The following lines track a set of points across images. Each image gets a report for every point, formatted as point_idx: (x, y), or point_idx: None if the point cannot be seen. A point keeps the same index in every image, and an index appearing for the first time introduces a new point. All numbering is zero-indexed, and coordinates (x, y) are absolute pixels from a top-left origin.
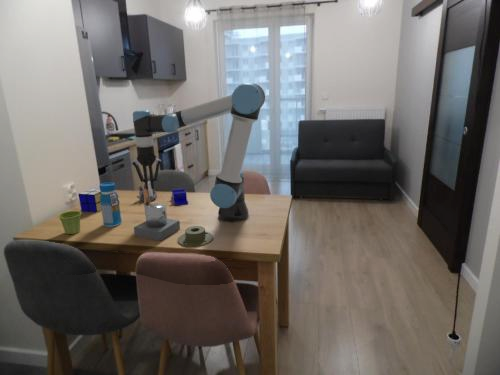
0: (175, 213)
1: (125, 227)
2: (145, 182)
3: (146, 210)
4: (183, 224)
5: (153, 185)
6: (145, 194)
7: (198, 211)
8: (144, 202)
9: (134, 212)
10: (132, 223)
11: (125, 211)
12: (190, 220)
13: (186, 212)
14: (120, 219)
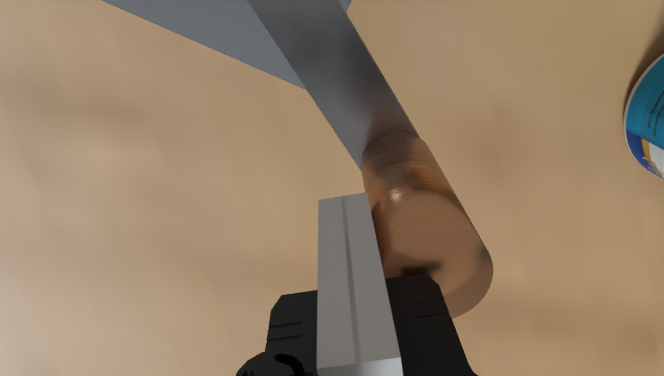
0: (218, 296)
1: (571, 18)
2: (458, 368)
3: None
4: (58, 61)
5: (269, 341)
6: (424, 190)
7: (48, 324)
8: (432, 155)
9: (546, 327)
10: (523, 109)
11: (617, 347)
12: (34, 149)
13: (137, 310)
14: (645, 115)
